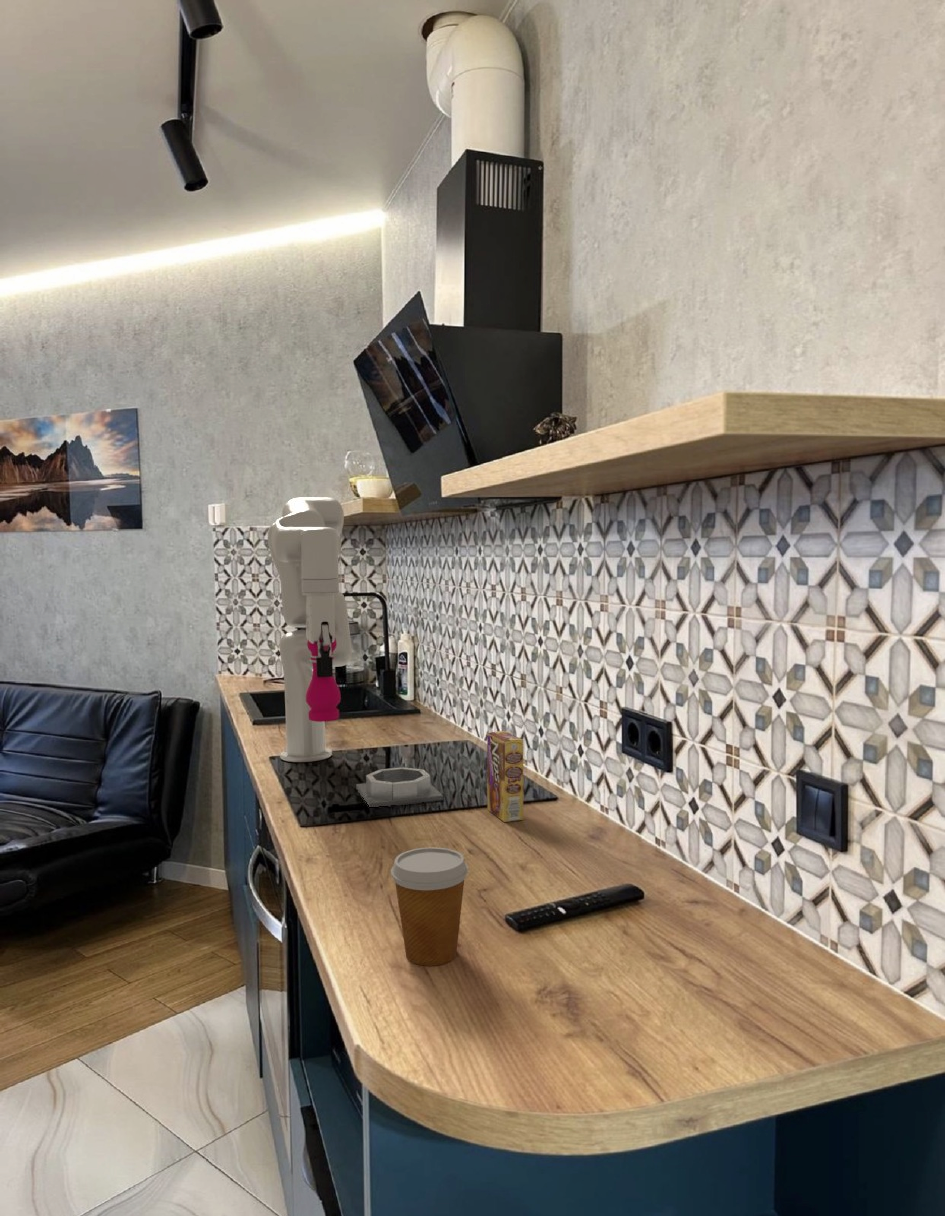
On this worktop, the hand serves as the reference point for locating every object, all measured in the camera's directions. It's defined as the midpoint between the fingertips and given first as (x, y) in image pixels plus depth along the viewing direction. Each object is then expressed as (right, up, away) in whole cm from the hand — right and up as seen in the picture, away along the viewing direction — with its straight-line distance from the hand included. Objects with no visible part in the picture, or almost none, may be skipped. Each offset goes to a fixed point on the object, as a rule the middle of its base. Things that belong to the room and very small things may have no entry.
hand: (322, 673), depth 174 cm
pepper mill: (0, -10, +1) cm, 10 cm away
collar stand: (+16, -25, 0) cm, 30 cm away
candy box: (+38, -26, -15) cm, 48 cm away
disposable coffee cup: (+26, -29, -71) cm, 81 cm away
